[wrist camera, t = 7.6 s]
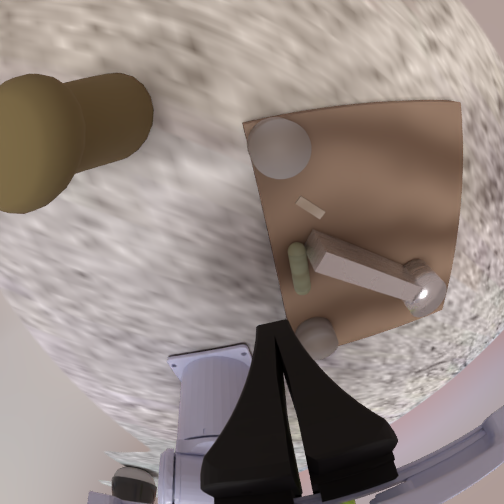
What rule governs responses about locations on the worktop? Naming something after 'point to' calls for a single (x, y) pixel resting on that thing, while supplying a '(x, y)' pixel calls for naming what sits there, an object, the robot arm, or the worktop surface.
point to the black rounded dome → (134, 485)
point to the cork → (65, 132)
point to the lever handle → (377, 272)
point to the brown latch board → (357, 205)
